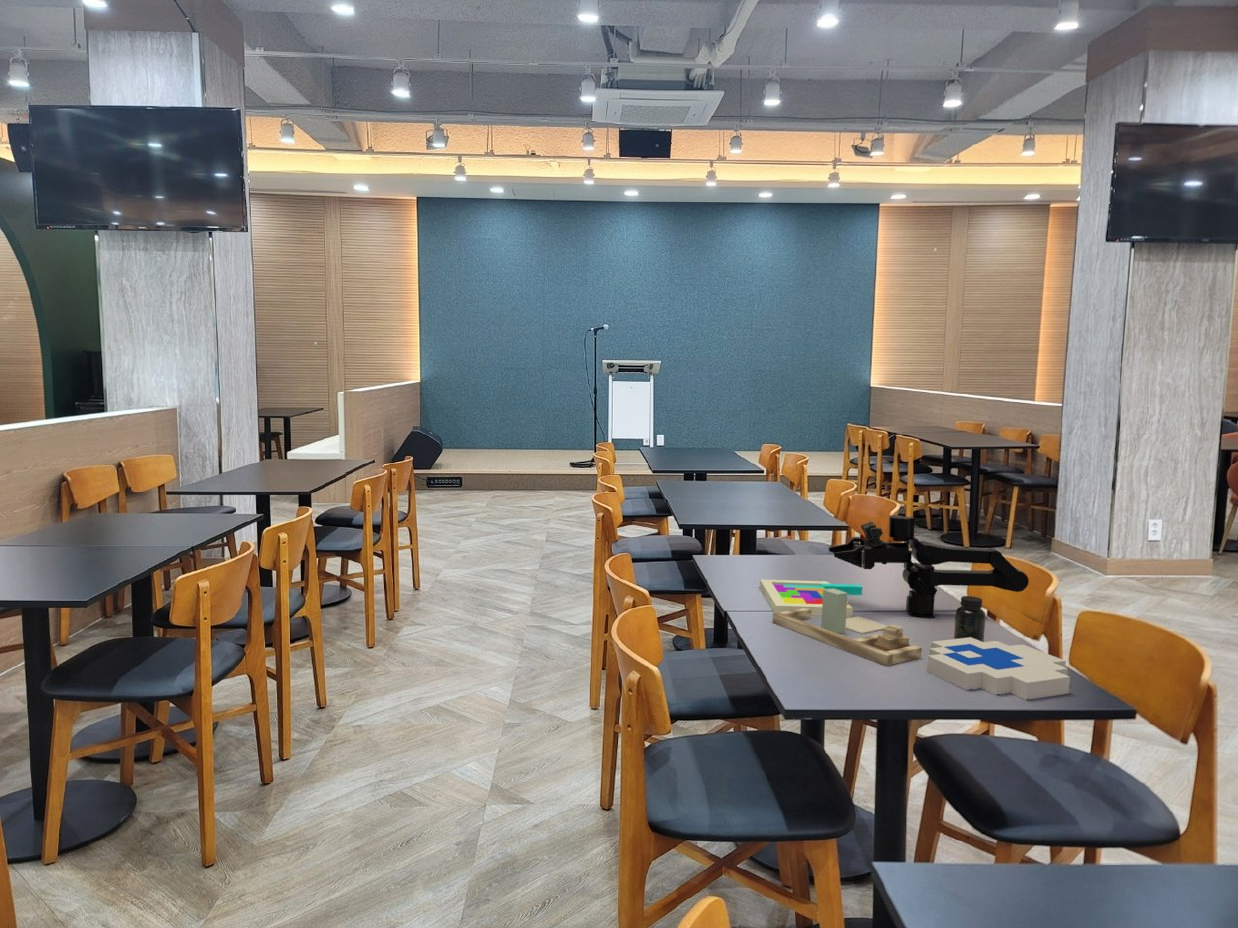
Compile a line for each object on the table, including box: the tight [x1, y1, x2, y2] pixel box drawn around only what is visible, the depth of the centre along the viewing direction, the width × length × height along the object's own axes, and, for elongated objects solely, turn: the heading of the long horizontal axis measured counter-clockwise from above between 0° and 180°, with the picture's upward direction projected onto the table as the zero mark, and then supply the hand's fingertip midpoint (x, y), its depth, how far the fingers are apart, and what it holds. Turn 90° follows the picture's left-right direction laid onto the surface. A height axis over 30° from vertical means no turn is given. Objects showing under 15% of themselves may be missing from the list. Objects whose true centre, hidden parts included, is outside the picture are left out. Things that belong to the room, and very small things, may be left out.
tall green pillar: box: [820, 588, 848, 635], centre depth 218 cm, size 4×5×10 cm
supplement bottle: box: [953, 595, 987, 642], centre depth 208 cm, size 7×7×12 cm
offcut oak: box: [877, 634, 910, 648], centre depth 202 cm, size 6×4×2 cm, turn 112°
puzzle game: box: [759, 578, 863, 618], centre depth 247 cm, size 30×3×30 cm
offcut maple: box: [881, 624, 904, 639], centre depth 202 cm, size 4×3×2 cm
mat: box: [845, 615, 888, 635], centre depth 223 cm, size 11×11×1 cm
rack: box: [772, 608, 922, 667], centre depth 211 cm, size 12×38×2 cm, turn 32°
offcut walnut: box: [874, 643, 911, 651], centre depth 202 cm, size 7×5×2 cm
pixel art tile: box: [926, 637, 1071, 700], centre depth 189 cm, size 28×4×28 cm
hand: (831, 552), depth 237 cm, fingers open, 9 cm apart
